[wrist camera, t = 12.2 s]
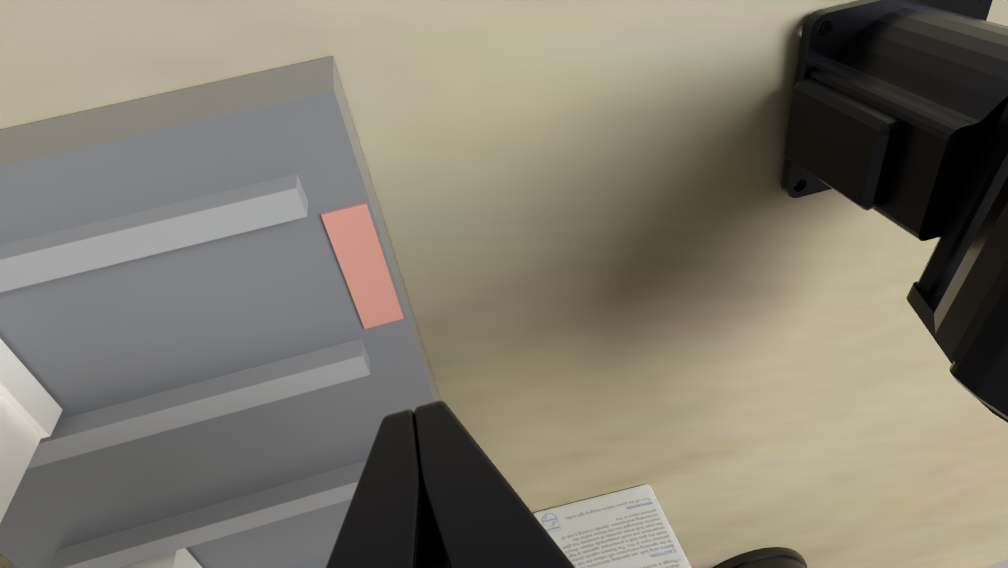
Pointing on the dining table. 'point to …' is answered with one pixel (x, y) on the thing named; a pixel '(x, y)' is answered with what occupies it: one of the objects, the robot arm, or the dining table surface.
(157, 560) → the tall cream cuboid
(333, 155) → the breaker panel
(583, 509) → the light bulb box
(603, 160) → the dining table surface
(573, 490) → the dining table surface
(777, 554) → the french press
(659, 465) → the dining table surface
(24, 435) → the white block
